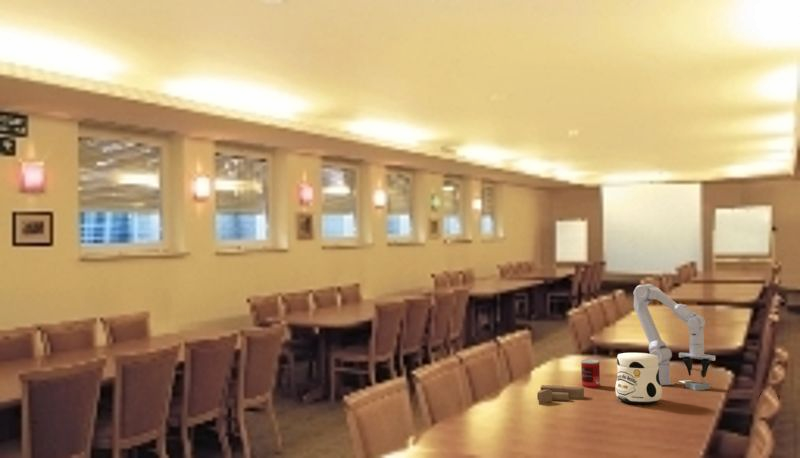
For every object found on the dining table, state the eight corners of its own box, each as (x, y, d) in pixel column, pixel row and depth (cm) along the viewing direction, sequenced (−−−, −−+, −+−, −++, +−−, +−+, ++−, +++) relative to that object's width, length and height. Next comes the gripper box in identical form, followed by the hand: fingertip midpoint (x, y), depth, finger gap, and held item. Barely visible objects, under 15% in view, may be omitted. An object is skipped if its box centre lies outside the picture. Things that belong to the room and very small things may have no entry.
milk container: (611, 404, 273) (610, 357, 273) (620, 395, 288) (619, 351, 289) (658, 408, 265) (657, 360, 265) (664, 399, 280) (663, 353, 281)
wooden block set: (539, 382, 291) (583, 384, 287) (539, 396, 291) (584, 398, 287) (535, 390, 275) (583, 392, 270) (536, 405, 275) (583, 407, 270)
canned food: (598, 384, 310) (597, 359, 310) (601, 388, 302) (601, 362, 302) (580, 384, 311) (579, 359, 311) (583, 388, 303) (582, 362, 303)
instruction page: (690, 385, 304) (690, 385, 304) (678, 381, 314) (678, 380, 314) (705, 385, 305) (705, 384, 305) (693, 380, 314) (693, 380, 314)
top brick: (690, 381, 298) (690, 369, 298) (694, 380, 301) (694, 367, 301) (700, 383, 296) (700, 370, 296) (703, 381, 299) (703, 369, 299)
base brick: (695, 391, 295) (694, 383, 295) (685, 388, 302) (685, 380, 302) (710, 390, 296) (709, 382, 296) (700, 387, 303) (699, 379, 303)
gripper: (675, 343, 301) (676, 375, 301) (711, 346, 291) (711, 379, 291) (682, 341, 306) (682, 372, 306) (716, 344, 296) (717, 376, 296)
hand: (697, 375), depth 299 cm, fingers open, 5 cm apart
